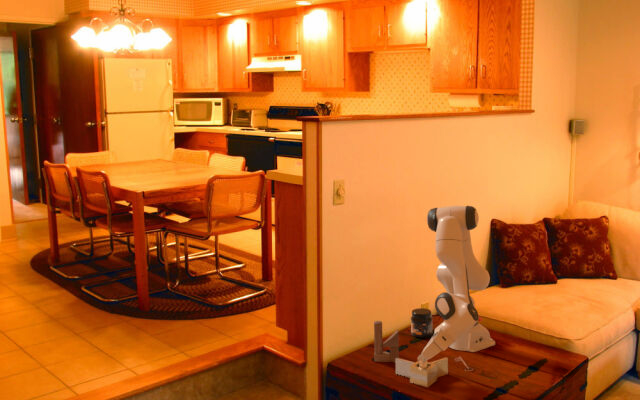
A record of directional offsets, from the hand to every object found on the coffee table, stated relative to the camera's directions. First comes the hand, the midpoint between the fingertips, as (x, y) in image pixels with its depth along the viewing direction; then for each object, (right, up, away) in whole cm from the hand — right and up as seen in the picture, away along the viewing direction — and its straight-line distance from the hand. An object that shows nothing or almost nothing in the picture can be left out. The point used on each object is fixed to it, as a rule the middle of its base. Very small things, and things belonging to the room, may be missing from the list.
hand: (421, 355), depth 255 cm
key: (+21, -9, +17) cm, 28 cm away
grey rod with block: (-12, -8, +23) cm, 27 cm away
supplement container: (+9, -3, +52) cm, 53 cm away
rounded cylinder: (+1, -11, +1) cm, 11 cm away
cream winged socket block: (0, -10, +7) cm, 13 cm away
